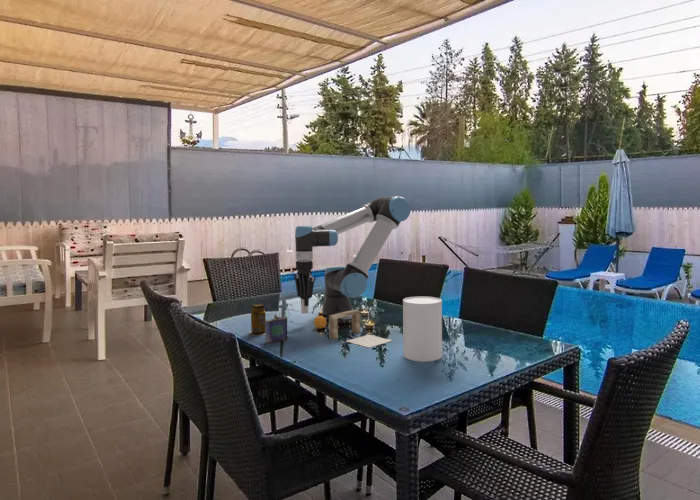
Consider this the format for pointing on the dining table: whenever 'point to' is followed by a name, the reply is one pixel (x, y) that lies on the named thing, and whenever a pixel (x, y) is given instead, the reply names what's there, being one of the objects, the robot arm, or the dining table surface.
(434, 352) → the canister
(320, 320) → the ball
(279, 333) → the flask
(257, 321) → the condiment
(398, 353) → the dining table surface
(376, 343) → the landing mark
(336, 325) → the bridge
